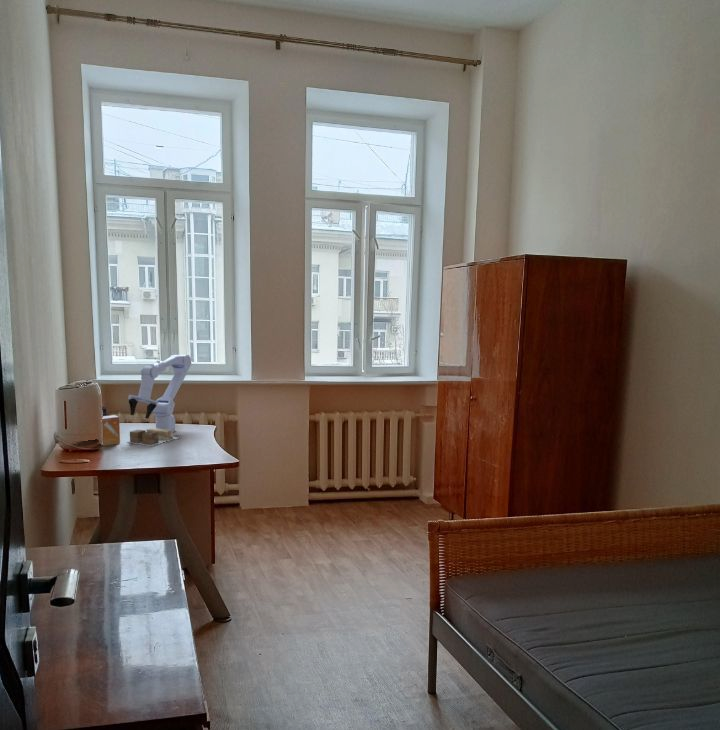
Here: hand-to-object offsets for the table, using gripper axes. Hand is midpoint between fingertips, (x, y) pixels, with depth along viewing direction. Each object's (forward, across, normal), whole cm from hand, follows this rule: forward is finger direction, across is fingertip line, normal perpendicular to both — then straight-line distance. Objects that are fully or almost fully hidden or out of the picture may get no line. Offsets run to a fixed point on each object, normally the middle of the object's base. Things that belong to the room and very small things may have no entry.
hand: (139, 416), depth 275 cm
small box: (+15, -9, +4) cm, 18 cm away
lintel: (+8, +11, -3) cm, 14 cm away
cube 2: (+12, +4, -10) cm, 16 cm away
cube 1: (+12, +1, -3) cm, 12 cm away
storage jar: (+12, -10, +20) cm, 26 cm away
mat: (+10, +8, -4) cm, 14 cm away
